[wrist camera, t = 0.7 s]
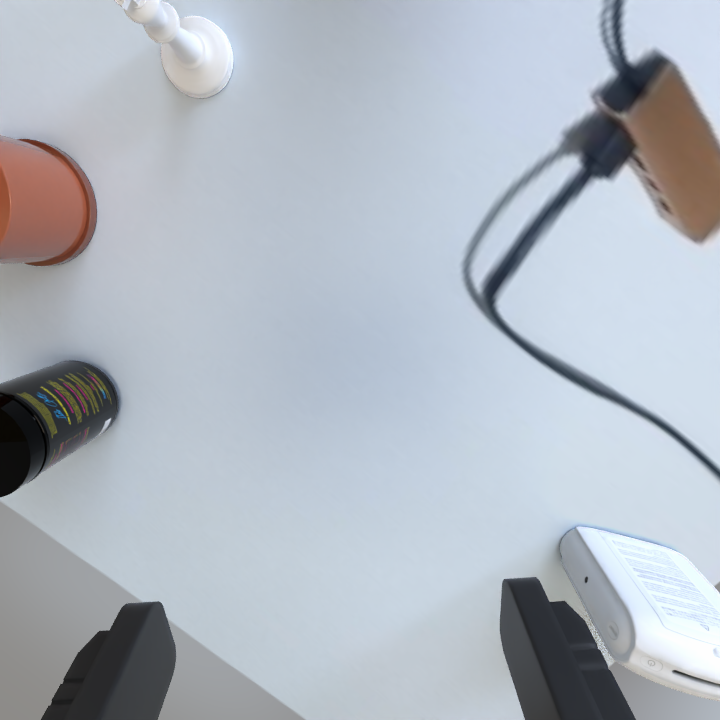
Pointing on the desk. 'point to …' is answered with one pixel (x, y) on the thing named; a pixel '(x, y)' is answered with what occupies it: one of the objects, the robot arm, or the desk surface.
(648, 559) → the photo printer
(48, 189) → the upturned cup
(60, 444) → the supplement container
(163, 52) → the chess piece
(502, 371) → the desk surface
